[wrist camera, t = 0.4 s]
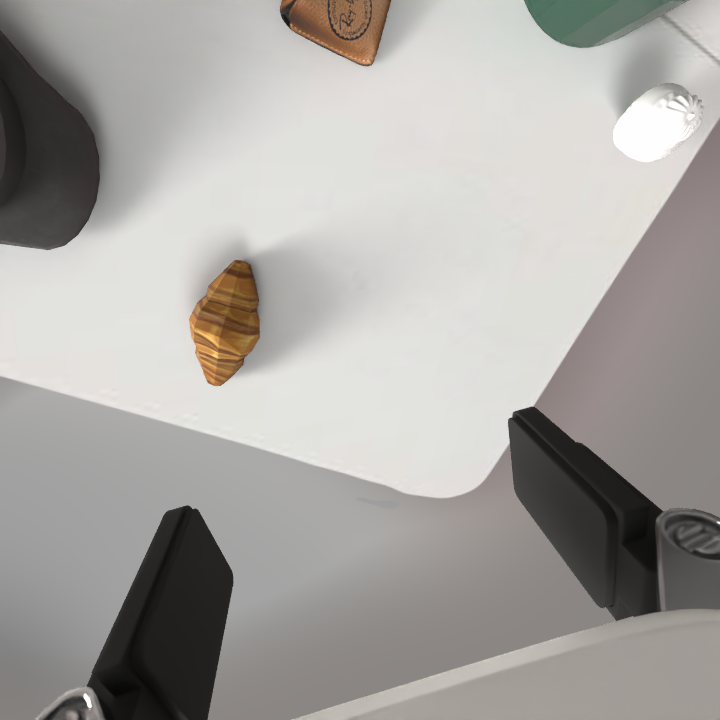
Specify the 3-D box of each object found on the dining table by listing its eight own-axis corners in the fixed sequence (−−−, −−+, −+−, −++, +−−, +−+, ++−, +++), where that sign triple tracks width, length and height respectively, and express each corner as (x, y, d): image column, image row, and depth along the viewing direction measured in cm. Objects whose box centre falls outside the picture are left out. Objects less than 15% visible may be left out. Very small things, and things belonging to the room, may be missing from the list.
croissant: (207, 247, 36) (193, 253, 31) (277, 269, 38) (273, 277, 33) (184, 371, 40) (168, 392, 36) (247, 386, 42) (240, 408, 37)
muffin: (668, 117, 37) (744, 97, 31) (628, 177, 39) (692, 171, 32) (626, 80, 35) (697, 52, 29) (586, 145, 37) (645, 131, 31)
